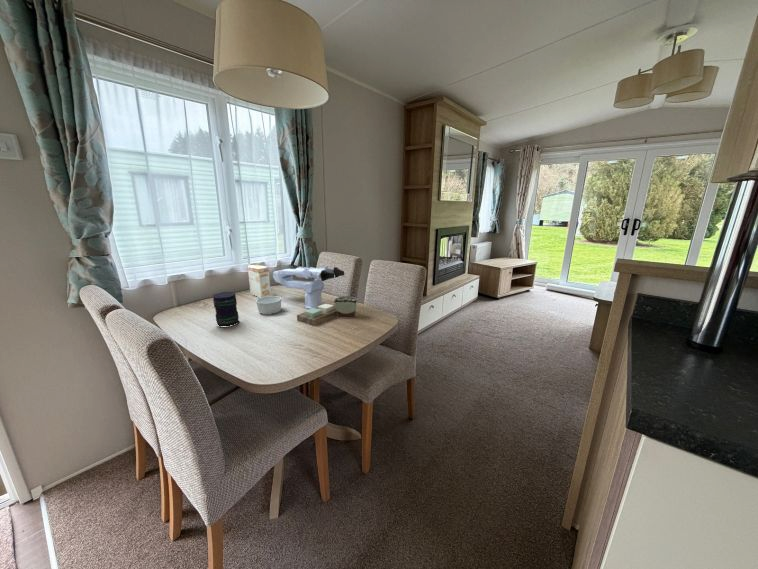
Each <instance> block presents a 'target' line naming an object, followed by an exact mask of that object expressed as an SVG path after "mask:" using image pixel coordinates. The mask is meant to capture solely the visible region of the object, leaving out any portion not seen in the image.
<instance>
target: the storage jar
mask: <svg viewBox="0 0 758 569" xmlns="http://www.w3.org/2000/svg"><path fill="white" fill-rule="evenodd" d="M236 297H237V296H236V292H234V291H225V292H218V293H214V294H213V295H212V298H213V307H214V308H215V309H214V310H215V321H216V323H217V324H218V325H219V326H230V325H234V324H236V323H238V322H239V323H240V320H239V312H238V308H237V304H238V302H237V298H236ZM239 323H238V324H239ZM217 324H216V325H217ZM234 326H235V325H234Z"/></svg>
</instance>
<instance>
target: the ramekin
mask: <svg viewBox="0 0 758 569" xmlns="http://www.w3.org/2000/svg"><path fill="white" fill-rule="evenodd" d="M282 302H283V301H282V297H281V296H279V295H277V296H276V295H271V296H266V297H261V298H257V299H256V300H255V303H256V306H257V310H258V313H260V314H261V313H262V315H273V314H272V313H274V314H277V313H279V312H280V311H281V310H282ZM276 312H277V313H276Z"/></svg>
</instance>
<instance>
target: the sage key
mask: <svg viewBox="0 0 758 569" xmlns="http://www.w3.org/2000/svg"><path fill="white" fill-rule="evenodd" d="M304 312H305V315H306V316H309V317H312V318H314V317H316V316H319V315H321V314H322V310H319V309H315V308H312V309H309V308H308V309H307V310H304Z"/></svg>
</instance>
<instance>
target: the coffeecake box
mask: <svg viewBox="0 0 758 569" xmlns="http://www.w3.org/2000/svg"><path fill="white" fill-rule="evenodd" d="M247 272H248V282H249V283H248V284H249V291H250V295H251V294H253V295H255V296H254V297H256V296H257V297H256V298H258V297H259V298H261V297H266V296H272V293H271V292H272V291H271V281H270V280H271V279H270V270H269V266H265V265H260V264H250V265H247ZM253 295H252V296H253ZM259 298H258V299H259Z"/></svg>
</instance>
